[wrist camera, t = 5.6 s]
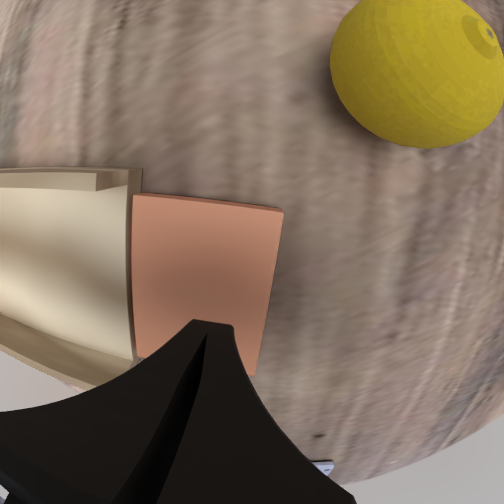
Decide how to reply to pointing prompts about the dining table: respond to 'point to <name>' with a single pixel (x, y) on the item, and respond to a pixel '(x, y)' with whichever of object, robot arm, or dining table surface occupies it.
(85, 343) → the cream shallow tray
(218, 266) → the panel
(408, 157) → the dining table surface
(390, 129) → the lemon
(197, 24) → the dining table surface
